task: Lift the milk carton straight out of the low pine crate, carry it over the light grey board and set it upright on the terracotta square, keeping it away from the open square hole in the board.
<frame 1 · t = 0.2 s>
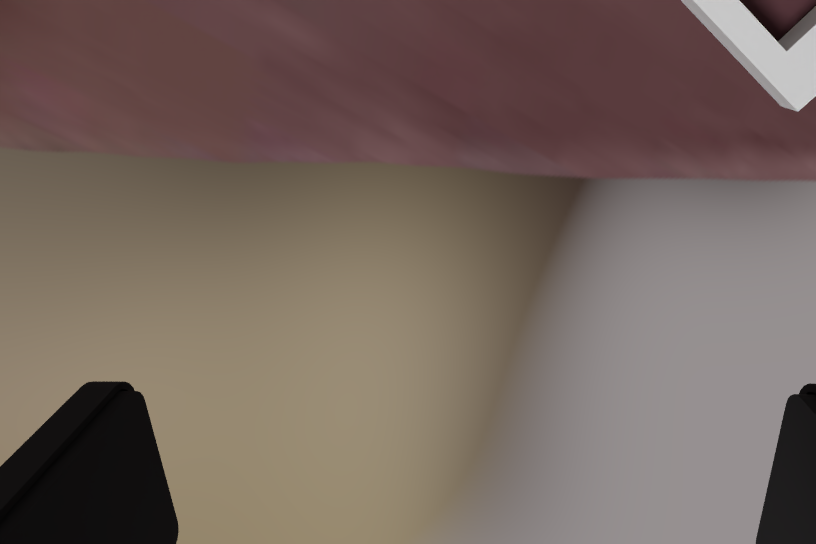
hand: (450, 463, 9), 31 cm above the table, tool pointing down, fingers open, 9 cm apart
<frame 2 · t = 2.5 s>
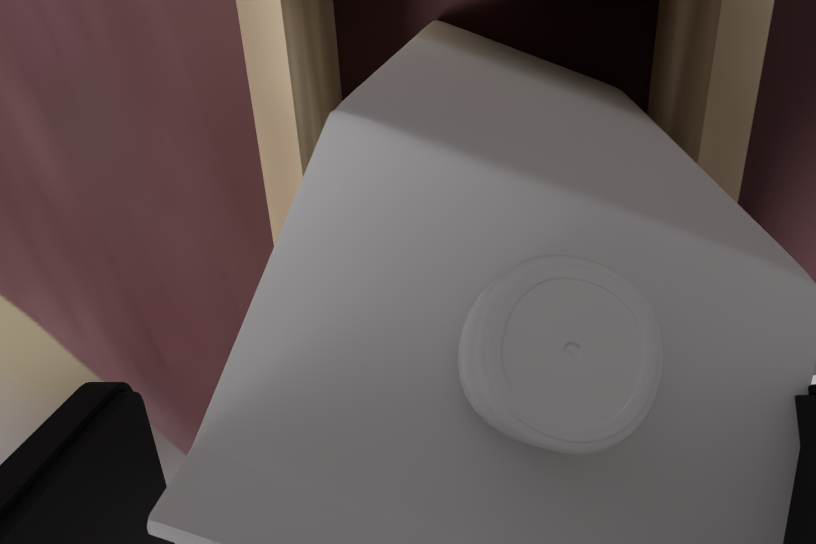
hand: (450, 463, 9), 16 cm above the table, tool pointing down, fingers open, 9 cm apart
milk carton: (490, 145, 23), resting in crate, touching gripper
crate: (490, 147, 23), on the table
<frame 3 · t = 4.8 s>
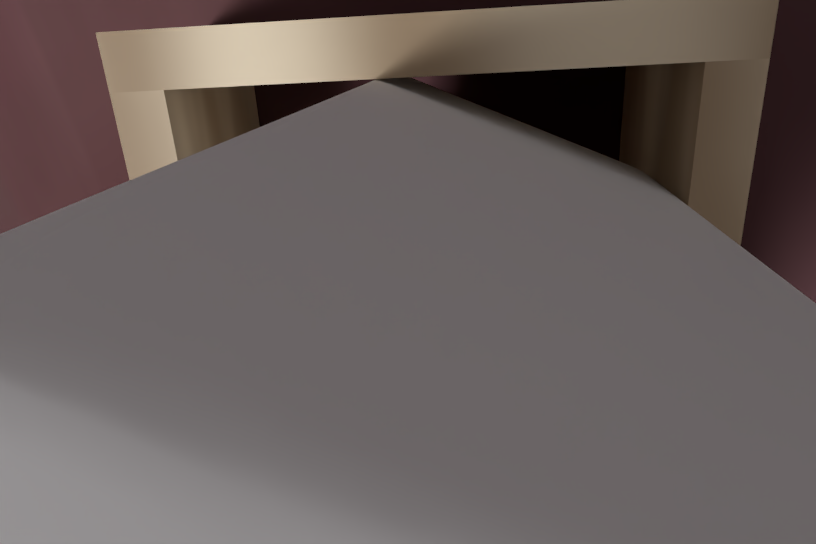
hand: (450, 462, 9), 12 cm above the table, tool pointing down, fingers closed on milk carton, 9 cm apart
milk carton: (467, 239, 17), point 3 cm above the table, touching gripper
crate: (440, 236, 20), on the table
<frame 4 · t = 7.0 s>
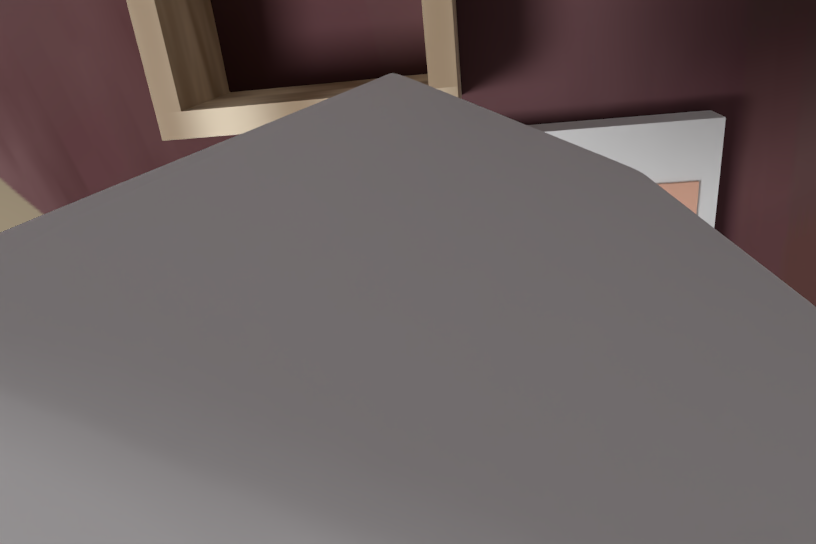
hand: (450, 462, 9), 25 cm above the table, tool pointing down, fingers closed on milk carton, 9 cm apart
milk carton: (466, 240, 17), point 16 cm above the table, touching gripper
board: (495, 260, 35), on the table
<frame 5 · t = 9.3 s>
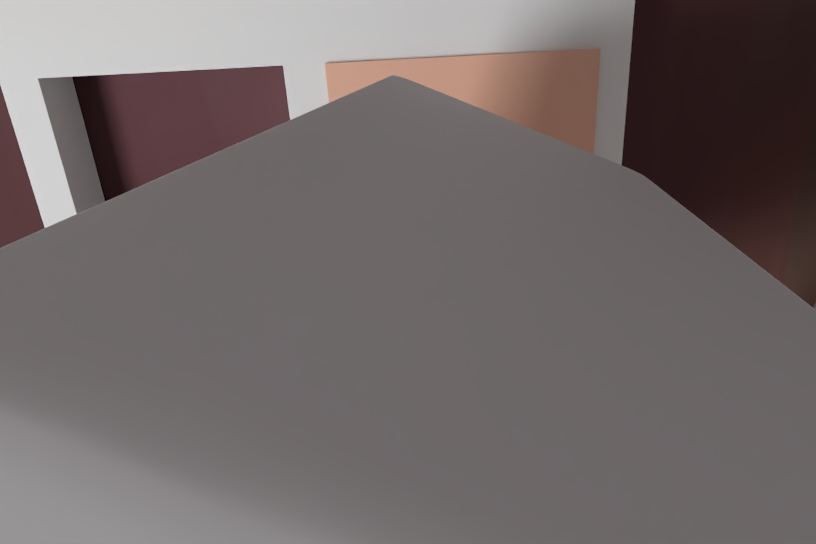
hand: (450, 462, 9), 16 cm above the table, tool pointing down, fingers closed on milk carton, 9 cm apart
milk carton: (467, 242, 17), point 7 cm above the table, touching gripper
board: (324, 178, 25), on the table
when the fingers open (12 cm above the table, at t = 10.8 s): milk carton drops 1 cm, resting on board.
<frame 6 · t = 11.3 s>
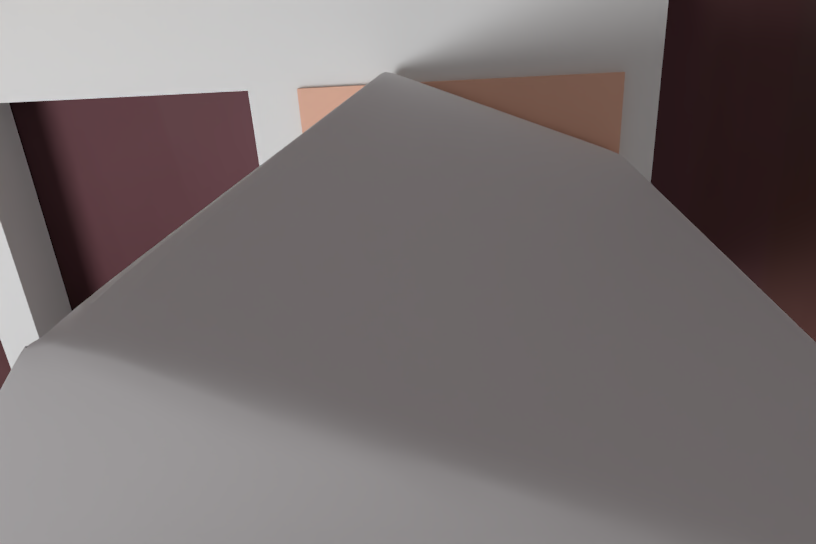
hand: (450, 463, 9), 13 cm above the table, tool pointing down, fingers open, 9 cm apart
milk carton: (460, 223, 19), point 2 cm above the table, touching board
board: (301, 217, 21), on the table
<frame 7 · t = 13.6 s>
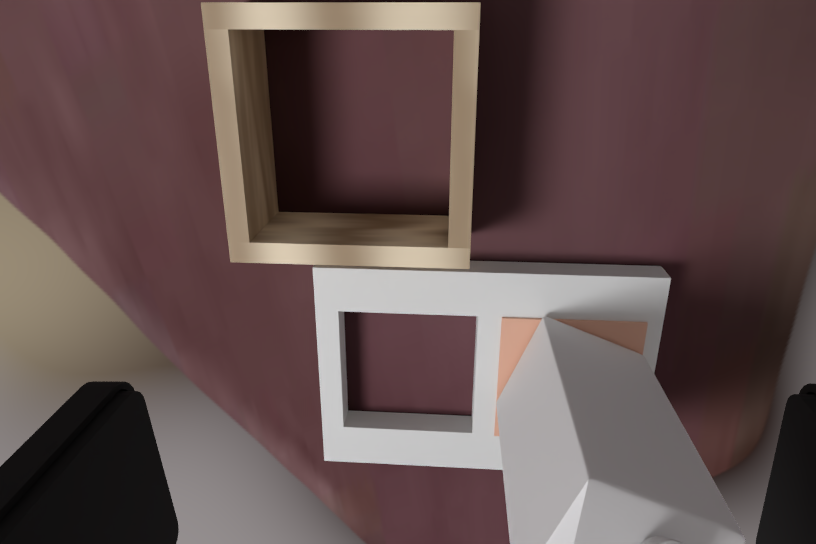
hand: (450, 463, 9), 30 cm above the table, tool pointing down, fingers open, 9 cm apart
milk carton: (567, 376, 40), point 2 cm above the table, touching board
crate: (360, 126, 37), on the table
board: (481, 362, 43), on the table
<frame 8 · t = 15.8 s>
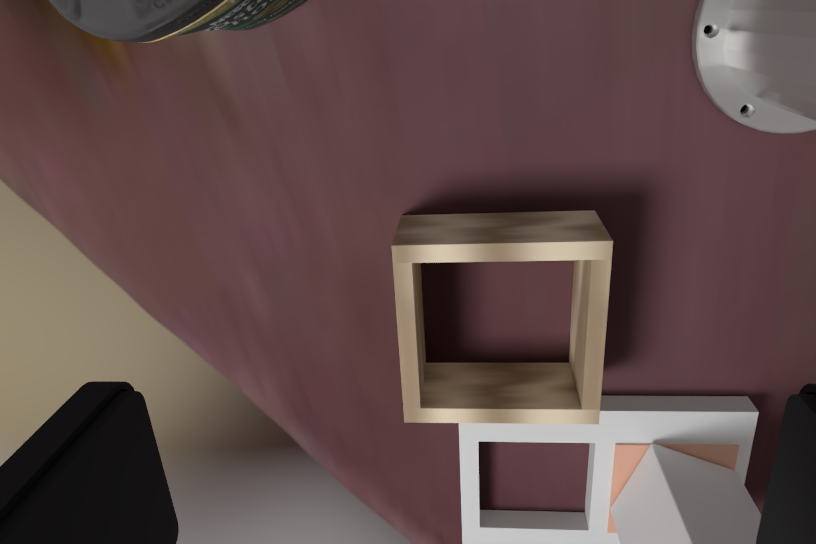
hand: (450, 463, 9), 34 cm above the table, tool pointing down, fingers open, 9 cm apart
milk carton: (670, 486, 49), point 2 cm above the table, touching board
crate: (496, 299, 46), on the table
board: (593, 471, 51), on the table
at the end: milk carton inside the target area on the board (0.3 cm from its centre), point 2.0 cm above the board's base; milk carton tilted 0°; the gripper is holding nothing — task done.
